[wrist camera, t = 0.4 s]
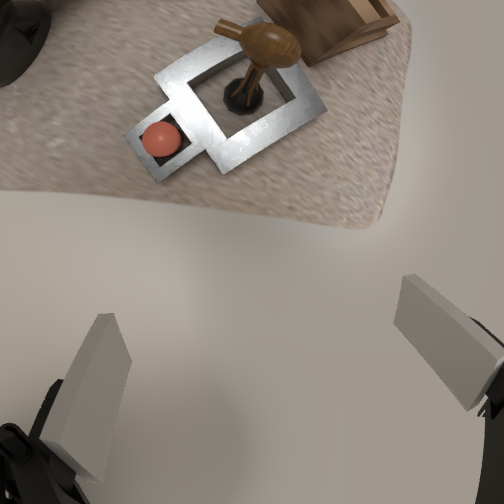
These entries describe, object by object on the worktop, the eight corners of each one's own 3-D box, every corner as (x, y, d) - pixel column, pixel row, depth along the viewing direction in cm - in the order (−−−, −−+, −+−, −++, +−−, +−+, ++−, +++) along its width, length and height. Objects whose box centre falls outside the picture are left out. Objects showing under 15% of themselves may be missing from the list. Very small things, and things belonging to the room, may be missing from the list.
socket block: (117, 116, 29) (106, 113, 25) (255, 29, 27) (260, 16, 23) (179, 202, 34) (175, 209, 30) (316, 114, 32) (327, 110, 28)
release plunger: (147, 138, 29) (135, 136, 24) (172, 119, 29) (164, 114, 24) (164, 161, 30) (155, 163, 26) (189, 143, 30) (184, 141, 25)
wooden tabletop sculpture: (208, 101, 30) (198, 41, 11) (225, 70, 29) (238, -15, 10) (252, 121, 31) (299, 85, 13) (269, 90, 30) (331, 27, 11)
